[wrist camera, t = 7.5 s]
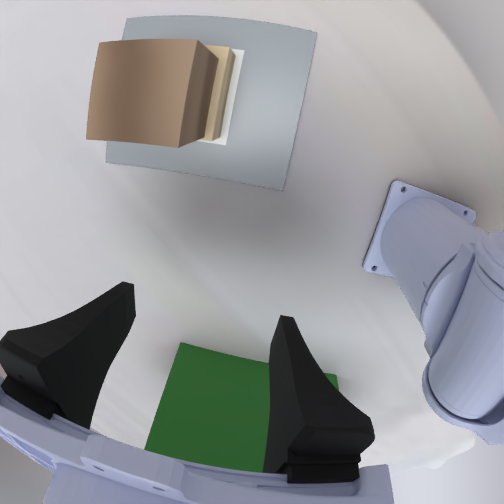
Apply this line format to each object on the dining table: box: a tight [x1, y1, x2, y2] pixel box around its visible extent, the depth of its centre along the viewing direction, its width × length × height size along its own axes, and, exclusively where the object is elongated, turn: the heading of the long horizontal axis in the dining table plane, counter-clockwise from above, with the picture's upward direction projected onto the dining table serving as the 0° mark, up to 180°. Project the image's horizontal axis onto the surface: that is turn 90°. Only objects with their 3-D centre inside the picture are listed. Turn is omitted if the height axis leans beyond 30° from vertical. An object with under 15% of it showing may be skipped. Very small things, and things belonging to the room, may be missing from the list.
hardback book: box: [144, 342, 339, 473], centre depth 20 cm, size 18×7×24 cm, turn 76°
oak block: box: [199, 45, 236, 141], centre depth 16 cm, size 6×6×3 cm
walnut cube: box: [86, 39, 219, 148], centre depth 13 cm, size 5×5×5 cm
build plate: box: [106, 16, 317, 191], centre depth 18 cm, size 14×12×1 cm
